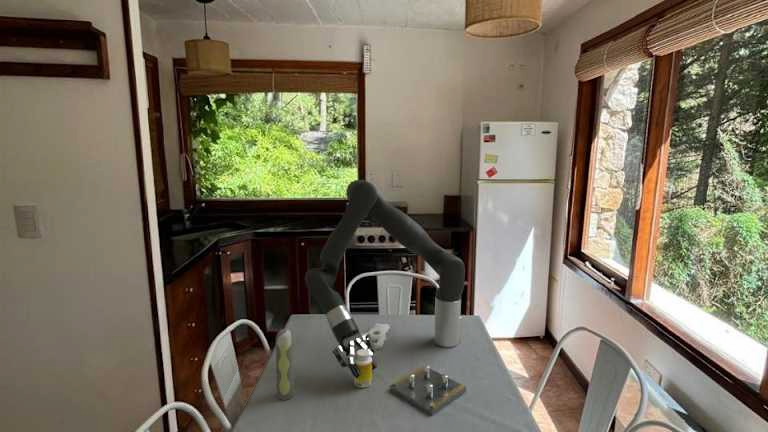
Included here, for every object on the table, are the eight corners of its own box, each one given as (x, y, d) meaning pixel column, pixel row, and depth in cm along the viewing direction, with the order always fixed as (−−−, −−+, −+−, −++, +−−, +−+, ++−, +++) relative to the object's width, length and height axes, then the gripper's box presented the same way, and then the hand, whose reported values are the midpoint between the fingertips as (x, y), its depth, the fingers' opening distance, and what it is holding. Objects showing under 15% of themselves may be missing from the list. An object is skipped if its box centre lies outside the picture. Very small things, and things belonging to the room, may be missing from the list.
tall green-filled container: (293, 399, 117) (291, 334, 113) (276, 401, 116) (273, 335, 113) (294, 389, 122) (292, 326, 118) (277, 391, 121) (275, 327, 117)
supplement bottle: (375, 385, 124) (375, 354, 122) (358, 390, 122) (358, 358, 120) (367, 376, 129) (367, 346, 127) (351, 380, 127) (351, 350, 125)
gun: (366, 319, 163) (391, 321, 161) (366, 327, 164) (391, 329, 162) (354, 342, 146) (382, 345, 144) (354, 351, 147) (382, 354, 145)
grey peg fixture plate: (424, 370, 133) (425, 355, 132) (466, 391, 122) (466, 376, 121) (389, 390, 122) (390, 374, 121) (431, 415, 111) (432, 398, 110)
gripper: (328, 324, 122) (354, 377, 116) (364, 311, 132) (390, 359, 126) (318, 335, 127) (342, 386, 121) (353, 321, 137) (378, 368, 131)
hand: (366, 372), depth 123 cm, fingers open, 6 cm apart
